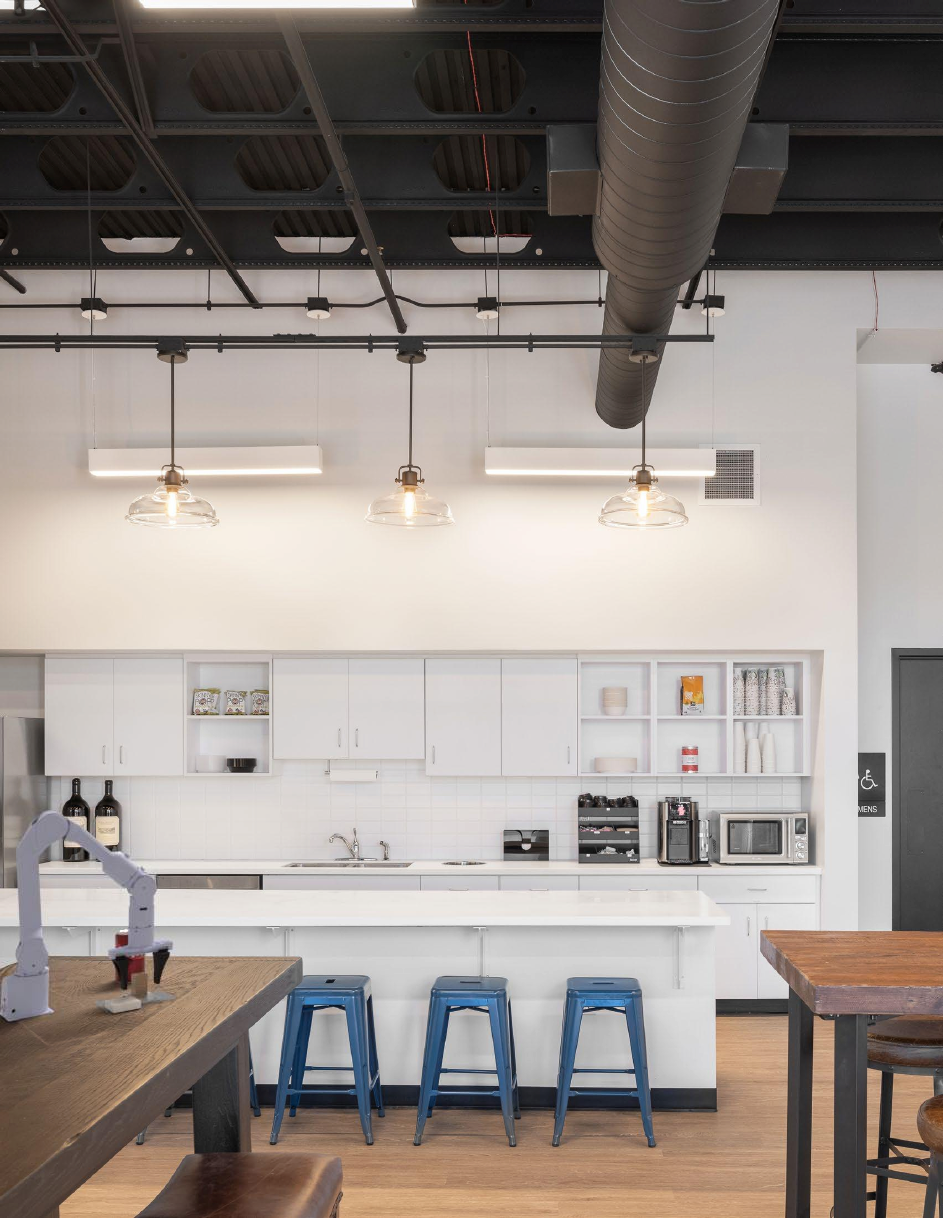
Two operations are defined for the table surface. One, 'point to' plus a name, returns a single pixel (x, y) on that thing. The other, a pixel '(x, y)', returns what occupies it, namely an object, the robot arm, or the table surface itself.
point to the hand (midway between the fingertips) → (140, 986)
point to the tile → (122, 1004)
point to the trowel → (141, 988)
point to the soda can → (129, 957)
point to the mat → (159, 993)
